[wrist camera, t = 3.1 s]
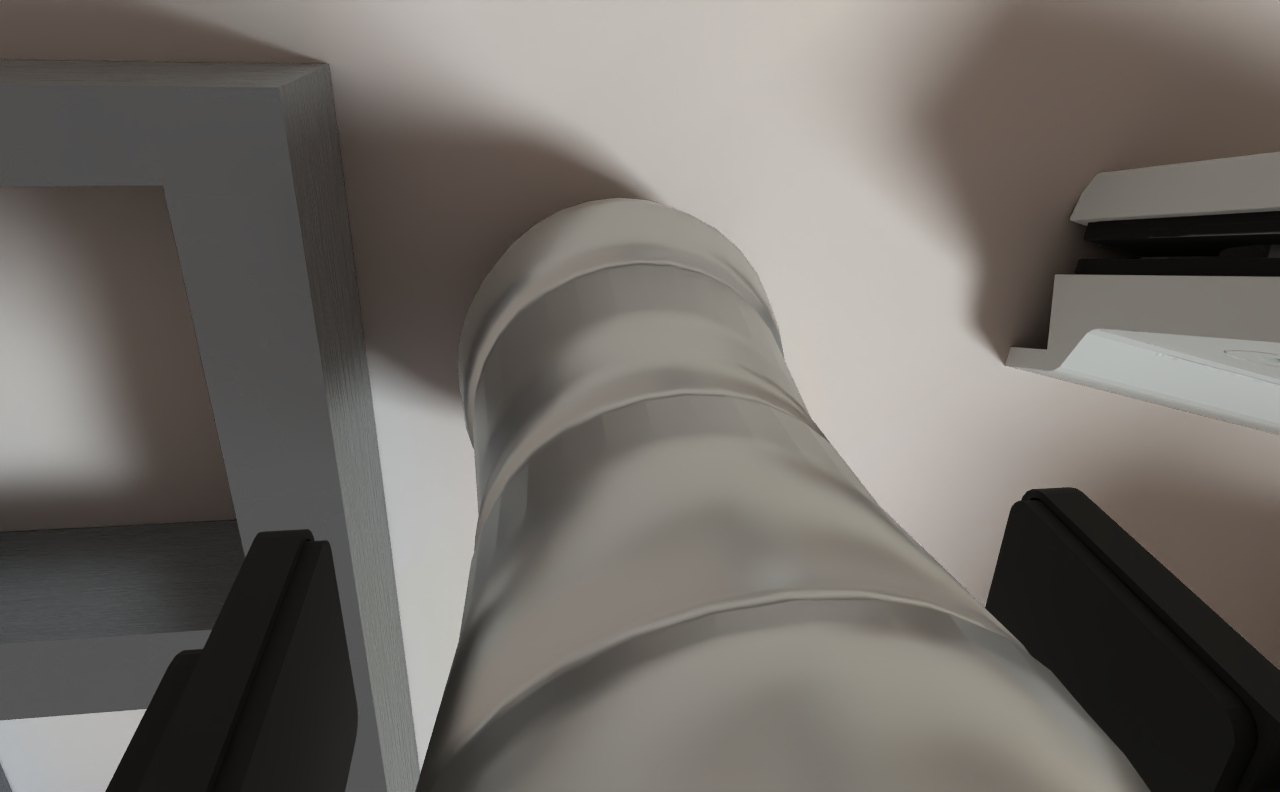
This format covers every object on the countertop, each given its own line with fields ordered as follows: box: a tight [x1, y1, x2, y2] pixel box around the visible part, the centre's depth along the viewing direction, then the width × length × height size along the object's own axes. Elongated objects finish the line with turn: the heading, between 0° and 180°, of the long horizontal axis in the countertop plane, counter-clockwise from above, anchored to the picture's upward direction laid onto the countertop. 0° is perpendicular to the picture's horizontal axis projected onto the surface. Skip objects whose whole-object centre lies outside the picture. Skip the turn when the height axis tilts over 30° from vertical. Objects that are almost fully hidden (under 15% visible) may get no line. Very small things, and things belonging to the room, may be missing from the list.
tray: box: [0, 60, 420, 792], centre depth 19 cm, size 23×13×4 cm, turn 179°
